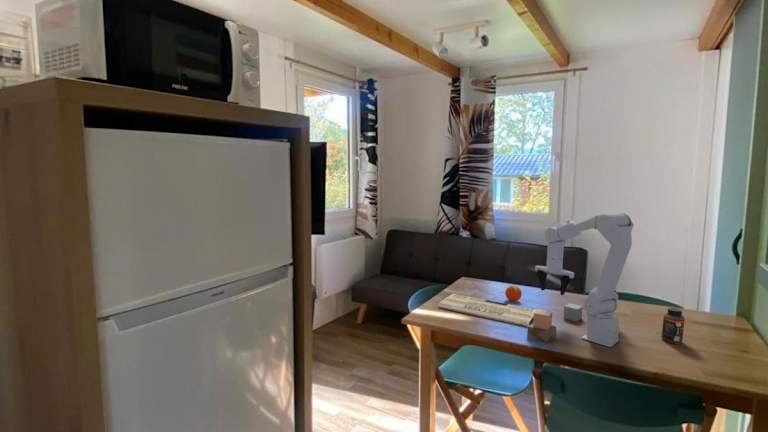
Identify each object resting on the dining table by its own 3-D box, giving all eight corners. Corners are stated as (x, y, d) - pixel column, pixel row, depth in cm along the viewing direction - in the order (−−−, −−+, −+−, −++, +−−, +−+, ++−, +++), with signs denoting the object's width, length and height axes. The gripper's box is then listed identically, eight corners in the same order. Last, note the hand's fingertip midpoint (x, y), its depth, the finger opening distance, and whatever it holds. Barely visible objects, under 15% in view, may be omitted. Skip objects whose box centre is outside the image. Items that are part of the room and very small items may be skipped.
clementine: (524, 304, 179) (525, 288, 178) (508, 304, 179) (508, 288, 178) (518, 298, 187) (519, 283, 186) (503, 298, 187) (503, 282, 186)
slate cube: (581, 318, 164) (582, 306, 163) (576, 321, 161) (577, 309, 160) (568, 315, 168) (569, 303, 167) (563, 318, 164) (564, 306, 163)
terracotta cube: (551, 325, 146) (552, 311, 145) (548, 330, 142) (549, 316, 141) (536, 322, 149) (537, 308, 148) (533, 326, 144) (533, 313, 144)
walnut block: (555, 337, 145) (556, 326, 145) (546, 343, 140) (547, 332, 140) (536, 331, 150) (537, 321, 150) (527, 337, 145) (527, 326, 145)
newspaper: (539, 314, 169) (539, 308, 169) (527, 330, 153) (527, 323, 152) (454, 297, 189) (455, 291, 188) (436, 310, 173) (436, 303, 172)
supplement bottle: (682, 345, 140) (686, 313, 139) (661, 341, 143) (664, 310, 142) (681, 339, 145) (684, 308, 144) (661, 335, 148) (664, 305, 147)
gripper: (578, 259, 159) (575, 294, 160) (541, 253, 169) (539, 286, 171) (570, 262, 154) (568, 298, 156) (533, 256, 164) (531, 289, 166)
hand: (552, 292), depth 163 cm, fingers open, 7 cm apart
